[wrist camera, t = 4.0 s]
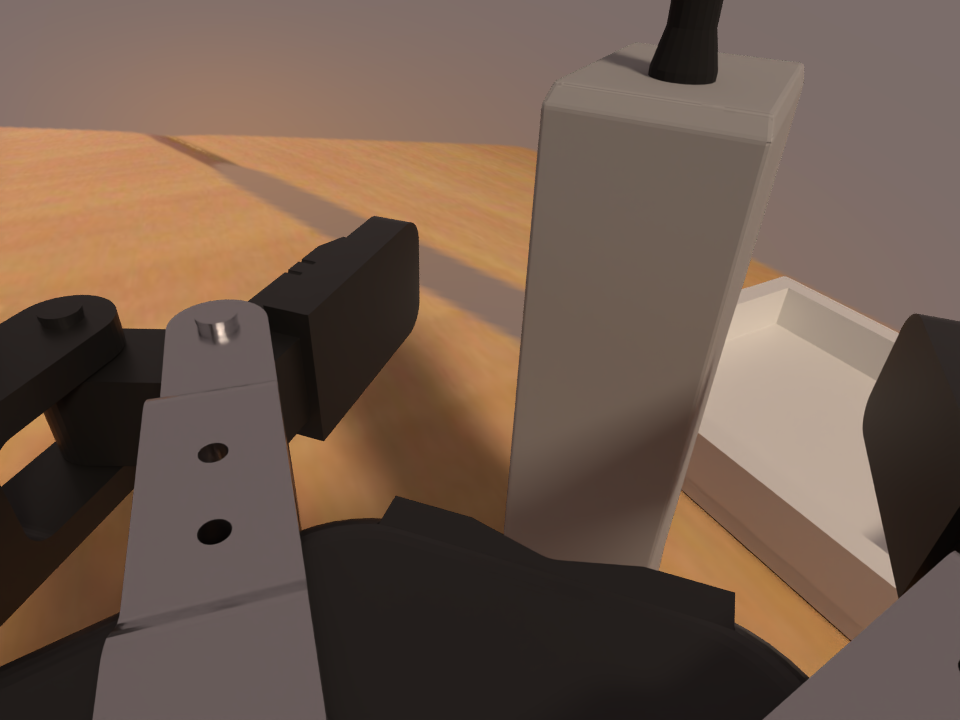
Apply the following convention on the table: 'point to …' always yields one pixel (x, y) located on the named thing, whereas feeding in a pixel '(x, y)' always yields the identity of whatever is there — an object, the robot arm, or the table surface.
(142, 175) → the table surface
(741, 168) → the vintage mobile phone
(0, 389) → the robot arm
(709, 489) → the tray
